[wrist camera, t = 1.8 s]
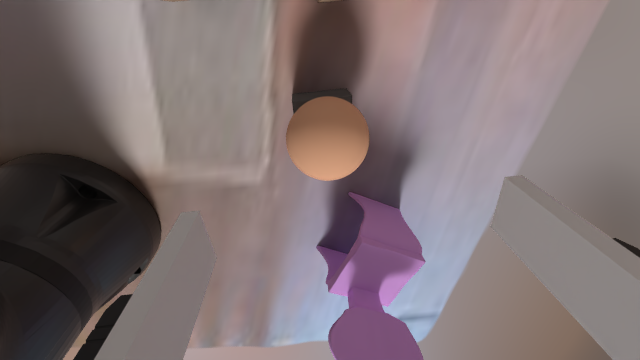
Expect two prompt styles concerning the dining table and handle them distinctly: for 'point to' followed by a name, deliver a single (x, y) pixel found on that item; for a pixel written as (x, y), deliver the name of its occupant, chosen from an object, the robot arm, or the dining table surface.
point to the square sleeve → (305, 97)
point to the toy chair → (373, 286)
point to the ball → (327, 138)
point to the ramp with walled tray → (318, 0)
